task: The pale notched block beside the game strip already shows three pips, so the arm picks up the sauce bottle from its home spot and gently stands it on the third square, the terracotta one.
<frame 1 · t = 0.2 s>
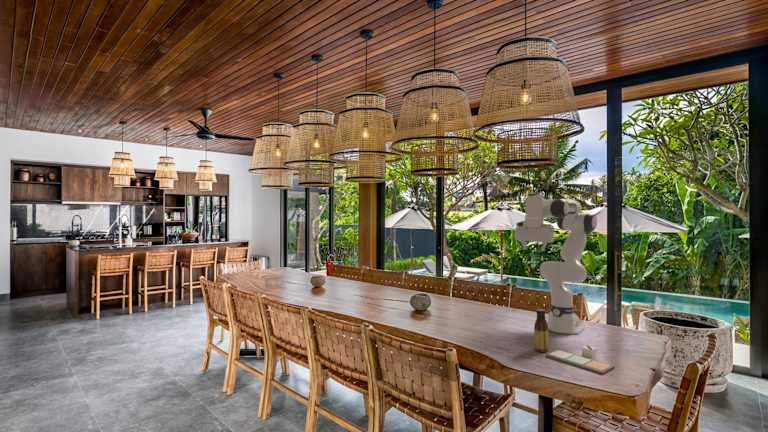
hand: (533, 250, 201), 47 cm above the table, tool pointing down, fingers open, 8 cm apart
sauce bottle: (541, 351, 187), on the table
pale notched block: (589, 357, 179), on the table
game strip: (578, 362, 173), on the table
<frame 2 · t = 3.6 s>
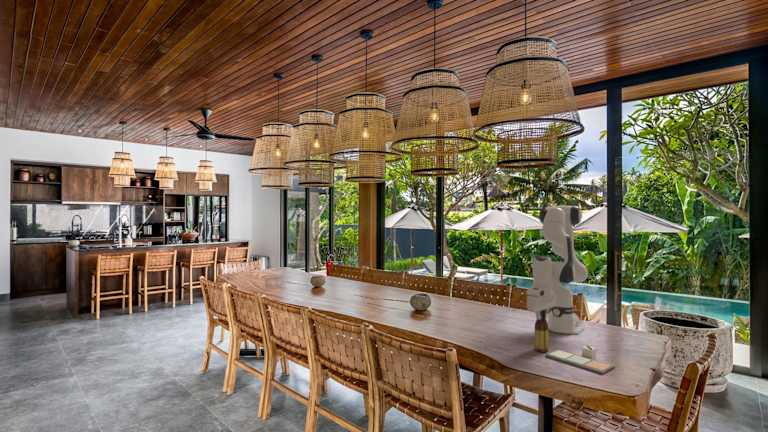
hand: (541, 318, 187), 16 cm above the table, tool pointing down, fingers closed on sauce bottle, 4 cm apart
sauce bottle: (541, 351, 187), on the table, touching gripper
everything else where it was.
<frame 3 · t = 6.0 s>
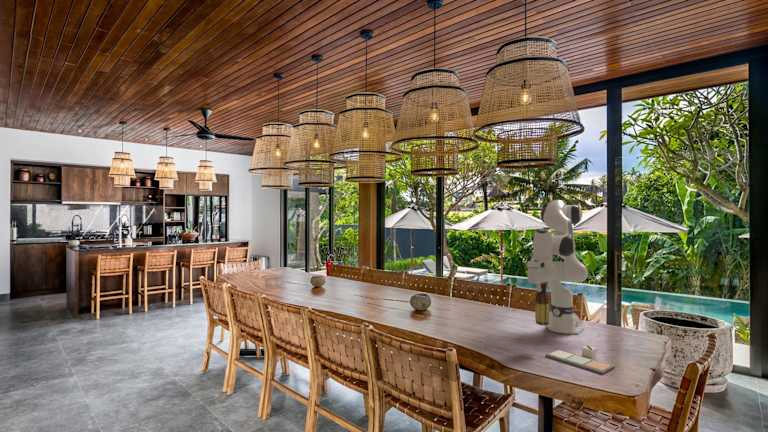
hand: (542, 291, 187), 29 cm above the table, tool pointing down, fingers closed on sauce bottle, 4 cm apart
sauce bottle: (541, 324, 187), point 13 cm above the table, touching gripper
everything else where it was.
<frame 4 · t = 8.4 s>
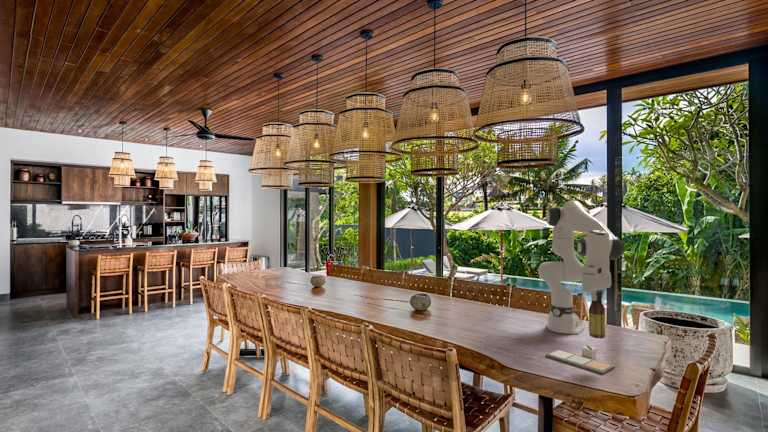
hand: (597, 299, 167), 29 cm above the table, tool pointing down, fingers closed on sauce bottle, 4 cm apart
sauce bottle: (596, 337, 167), point 13 cm above the table, touching gripper
everything else where it was.
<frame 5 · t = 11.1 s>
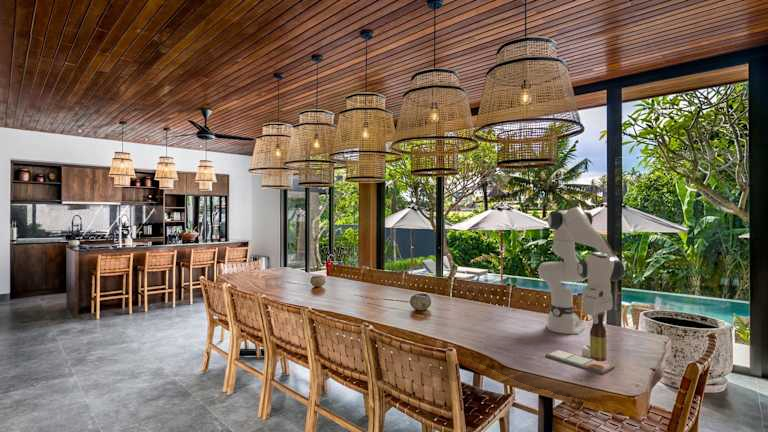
hand: (598, 322, 167), 20 cm above the table, tool pointing down, fingers closed on sauce bottle, 4 cm apart
sauce bottle: (597, 359, 167), point 3 cm above the table, touching gripper
everything else where it was.
when the fingers open (17 cm above the table, at t = 13.0 s): sauce bottle stays where it is, resting on game strip.
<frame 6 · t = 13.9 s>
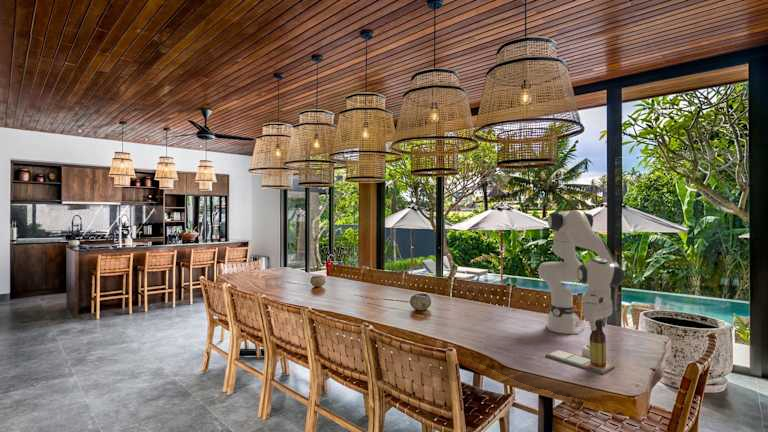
hand: (598, 328, 167), 17 cm above the table, tool pointing down, fingers open, 8 cm apart
sauce bottle: (597, 365, 167), point 1 cm above the table, touching game strip
everything else where it was.
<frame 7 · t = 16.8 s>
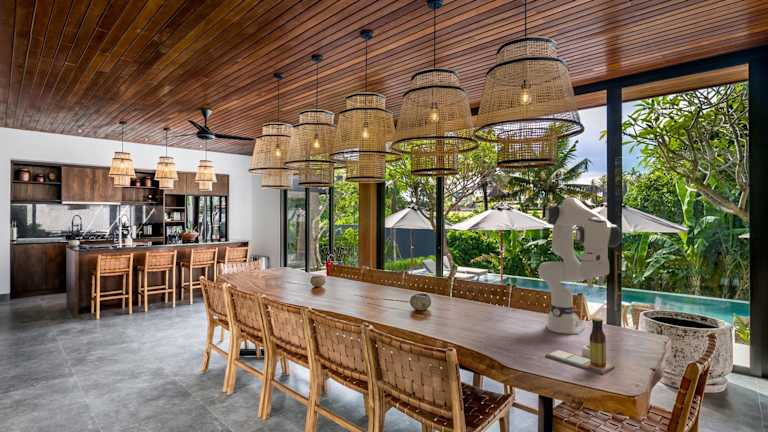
hand: (595, 286, 168), 35 cm above the table, tool pointing down, fingers open, 8 cm apart
nothing on the table moved.
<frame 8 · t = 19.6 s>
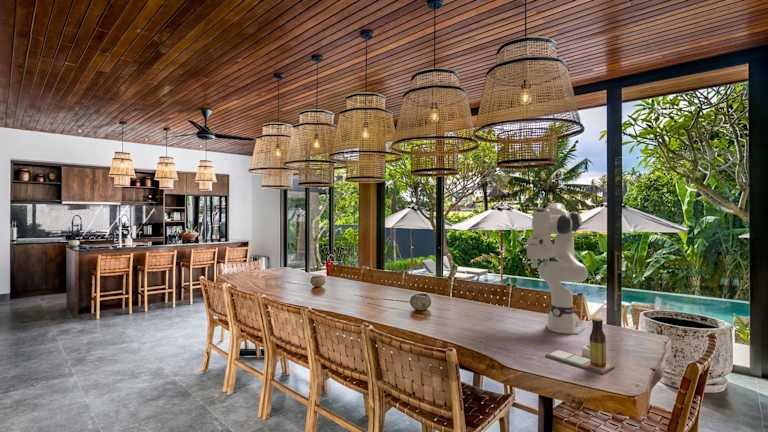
hand: (540, 267, 197), 39 cm above the table, tool pointing down, fingers open, 8 cm apart
nothing on the table moved.
at the end: sauce bottle 0.3 cm from the target spot on the game strip, point 1.0 cm above the game strip's base; sauce bottle tilted 0°; the gripper is holding nothing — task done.
